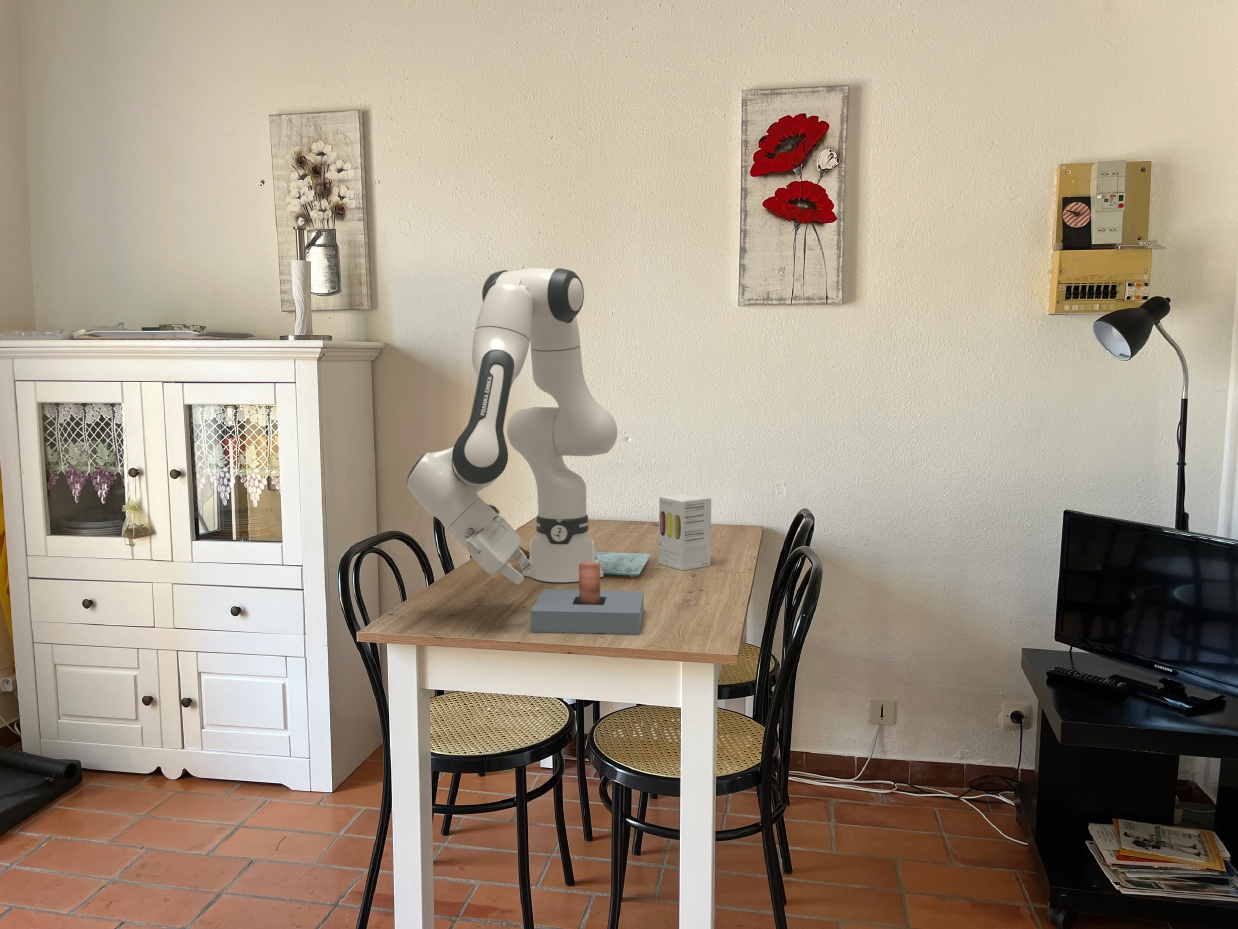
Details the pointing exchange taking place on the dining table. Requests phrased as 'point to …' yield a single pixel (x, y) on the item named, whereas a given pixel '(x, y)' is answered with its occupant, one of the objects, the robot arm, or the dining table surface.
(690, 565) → the supplement box
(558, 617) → the socket block
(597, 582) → the pin
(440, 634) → the dining table surface
